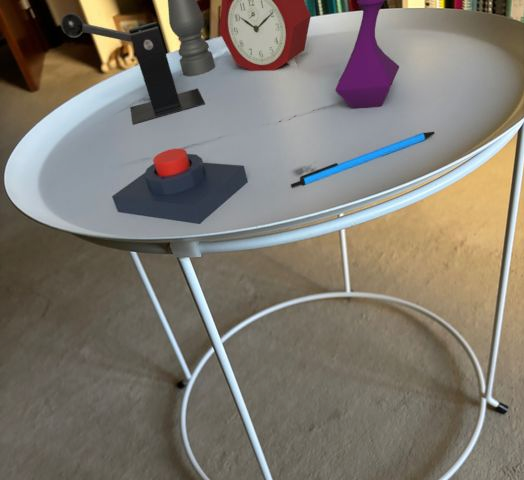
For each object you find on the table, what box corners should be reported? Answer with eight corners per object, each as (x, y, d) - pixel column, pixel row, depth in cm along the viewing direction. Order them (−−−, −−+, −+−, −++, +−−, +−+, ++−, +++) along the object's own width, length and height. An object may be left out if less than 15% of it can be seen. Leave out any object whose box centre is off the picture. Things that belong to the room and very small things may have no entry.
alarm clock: (228, 77, 106) (199, -54, 93) (254, 60, 111) (229, -66, 98) (299, 76, 98) (278, -68, 86) (323, 58, 103) (306, -80, 91)
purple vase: (400, 89, 84) (393, -60, 73) (391, 110, 79) (382, -47, 68) (349, 94, 87) (335, -49, 76) (337, 114, 82) (320, -36, 71)
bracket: (134, 130, 94) (105, 45, 86) (132, 114, 101) (104, 33, 93) (206, 110, 95) (184, 23, 87) (199, 95, 102) (178, 13, 93)
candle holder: (178, 82, 110) (133, -79, 94) (193, 71, 114) (152, -86, 98) (207, 80, 107) (166, -87, 91) (221, 68, 112) (184, -94, 96)
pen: (290, 188, 68) (288, 179, 67) (433, 134, 71) (433, 125, 70) (293, 190, 67) (292, 181, 67) (437, 136, 70) (437, 127, 70)
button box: (117, 212, 72) (105, 182, 70) (168, 175, 78) (158, 145, 76) (199, 224, 66) (189, 191, 63) (248, 182, 71) (240, 150, 69)
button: (150, 176, 69) (145, 162, 68) (171, 161, 72) (167, 147, 71) (176, 179, 67) (171, 164, 66) (196, 163, 70) (192, 149, 69)
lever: (60, 36, 87) (60, 12, 85) (61, 32, 89) (61, 9, 87) (155, 56, 91) (158, 33, 89) (154, 52, 94) (156, 29, 92)
